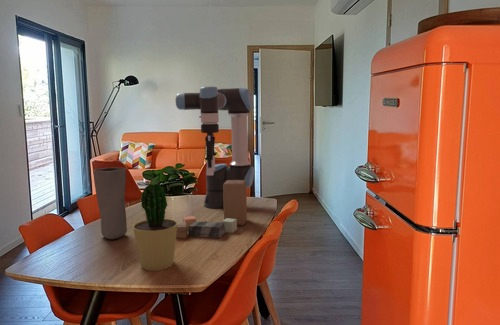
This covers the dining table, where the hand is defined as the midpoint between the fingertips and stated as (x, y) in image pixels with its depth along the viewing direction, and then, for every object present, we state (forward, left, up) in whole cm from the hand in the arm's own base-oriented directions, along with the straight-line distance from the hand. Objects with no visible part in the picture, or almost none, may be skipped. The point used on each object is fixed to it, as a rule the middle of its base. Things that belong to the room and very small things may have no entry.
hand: (211, 172), depth 180 cm
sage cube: (-5, +7, -27) cm, 28 cm away
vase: (+7, -42, -27) cm, 51 cm away
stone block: (+1, -2, -28) cm, 28 cm away
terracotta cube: (-7, -12, -27) cm, 31 cm away
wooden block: (-18, +8, -27) cm, 33 cm away
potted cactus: (+37, -13, -27) cm, 47 cm away
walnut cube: (+5, -13, -27) cm, 31 cm away
